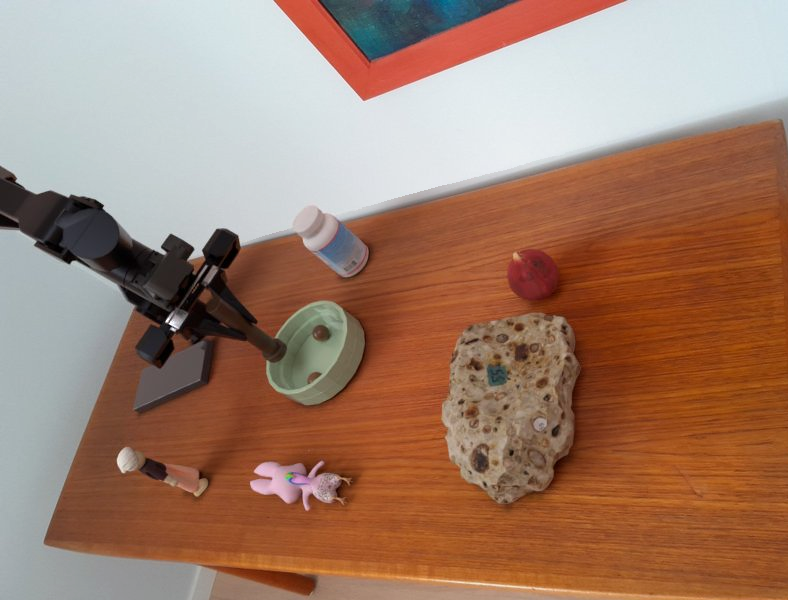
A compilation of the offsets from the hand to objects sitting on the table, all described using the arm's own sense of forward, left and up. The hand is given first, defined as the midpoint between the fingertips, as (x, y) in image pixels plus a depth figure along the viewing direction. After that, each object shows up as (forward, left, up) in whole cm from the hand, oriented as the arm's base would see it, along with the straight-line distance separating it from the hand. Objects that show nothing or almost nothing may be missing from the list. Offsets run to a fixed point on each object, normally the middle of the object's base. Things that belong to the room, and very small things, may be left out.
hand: (251, 331), depth 84 cm
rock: (+27, +21, -13) cm, 37 cm away
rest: (-22, -25, -13) cm, 36 cm away
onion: (+15, +31, -13) cm, 37 cm away
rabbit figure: (+15, -7, -13) cm, 21 cm away
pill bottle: (-14, +12, -13) cm, 23 cm away
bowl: (-1, +2, -13) cm, 13 cm away
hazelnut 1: (-4, +4, -11) cm, 12 cm away
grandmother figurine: (+1, -25, -13) cm, 28 cm away
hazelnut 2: (+3, 0, -11) cm, 11 cm away
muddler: (-2, -1, -6) cm, 7 cm away
